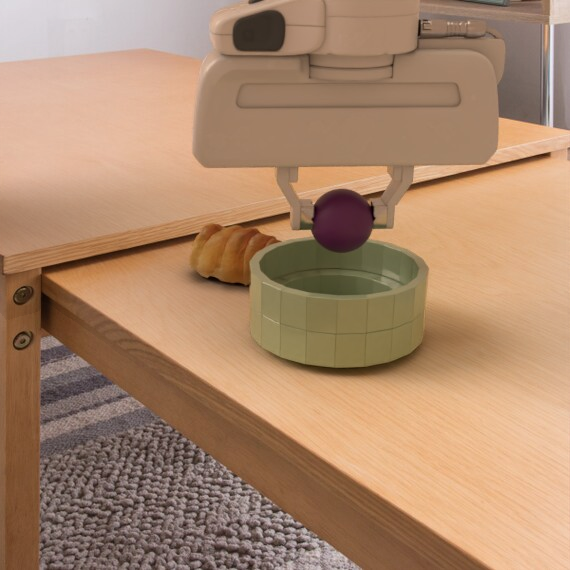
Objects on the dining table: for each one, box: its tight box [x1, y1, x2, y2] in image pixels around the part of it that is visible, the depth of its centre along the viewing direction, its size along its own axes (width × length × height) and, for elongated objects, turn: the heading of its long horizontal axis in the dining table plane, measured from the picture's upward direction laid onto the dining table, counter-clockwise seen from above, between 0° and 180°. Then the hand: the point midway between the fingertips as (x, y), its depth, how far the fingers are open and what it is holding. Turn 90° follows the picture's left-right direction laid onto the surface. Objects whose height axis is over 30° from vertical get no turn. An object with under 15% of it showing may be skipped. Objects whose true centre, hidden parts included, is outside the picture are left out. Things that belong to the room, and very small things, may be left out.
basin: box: [248, 235, 430, 369], centre depth 66 cm, size 12×12×6 cm
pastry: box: [188, 222, 283, 286], centre depth 77 cm, size 9×7×4 cm
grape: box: [310, 188, 374, 253], centre depth 64 cm, size 4×4×4 cm
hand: (340, 227), depth 64 cm, fingers closed on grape, 4 cm apart
